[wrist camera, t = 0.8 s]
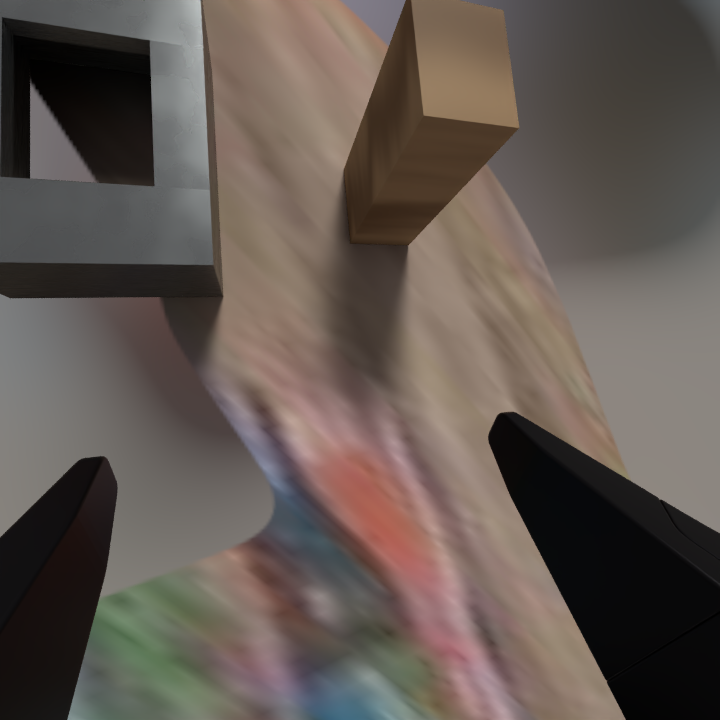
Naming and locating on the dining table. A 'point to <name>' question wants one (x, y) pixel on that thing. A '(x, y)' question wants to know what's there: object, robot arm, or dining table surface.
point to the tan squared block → (429, 118)
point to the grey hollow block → (101, 200)
